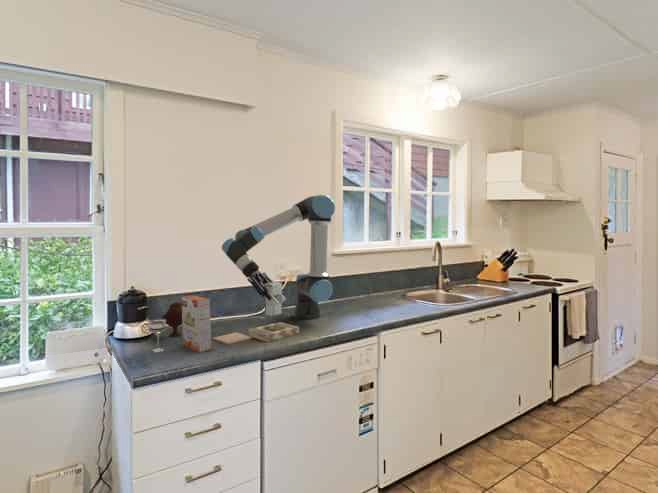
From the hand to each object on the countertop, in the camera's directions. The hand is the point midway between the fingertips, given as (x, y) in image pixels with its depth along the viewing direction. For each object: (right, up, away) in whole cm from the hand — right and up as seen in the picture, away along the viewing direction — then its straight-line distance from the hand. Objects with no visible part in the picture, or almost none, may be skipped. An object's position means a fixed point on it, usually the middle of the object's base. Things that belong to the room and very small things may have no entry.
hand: (280, 302), depth 187 cm
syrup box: (-3, -6, +2) cm, 7 cm away
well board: (-3, -15, +2) cm, 15 cm away
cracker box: (-32, -16, -17) cm, 40 cm away
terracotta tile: (-21, -15, -5) cm, 26 cm away
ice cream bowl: (-48, -15, +2) cm, 51 cm away
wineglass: (-47, -17, -19) cm, 54 cm away
